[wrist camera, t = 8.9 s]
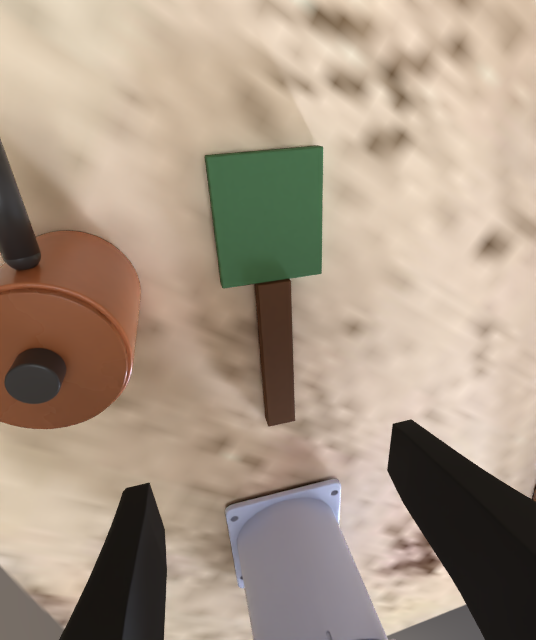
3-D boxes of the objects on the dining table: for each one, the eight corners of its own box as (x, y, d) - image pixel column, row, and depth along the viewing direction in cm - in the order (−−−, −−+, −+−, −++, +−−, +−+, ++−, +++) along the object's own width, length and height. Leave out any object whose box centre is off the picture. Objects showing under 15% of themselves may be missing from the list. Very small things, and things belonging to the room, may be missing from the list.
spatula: (316, 406, 23) (321, 415, 23) (238, 423, 22) (240, 433, 22) (318, 145, 16) (325, 147, 16) (204, 155, 15) (206, 157, 15)
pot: (151, 331, 18) (147, 432, 13) (33, 350, 17) (-31, 470, 12) (97, 102, 14) (50, 96, 8) (-67, 112, 13) (-257, 112, 7)
